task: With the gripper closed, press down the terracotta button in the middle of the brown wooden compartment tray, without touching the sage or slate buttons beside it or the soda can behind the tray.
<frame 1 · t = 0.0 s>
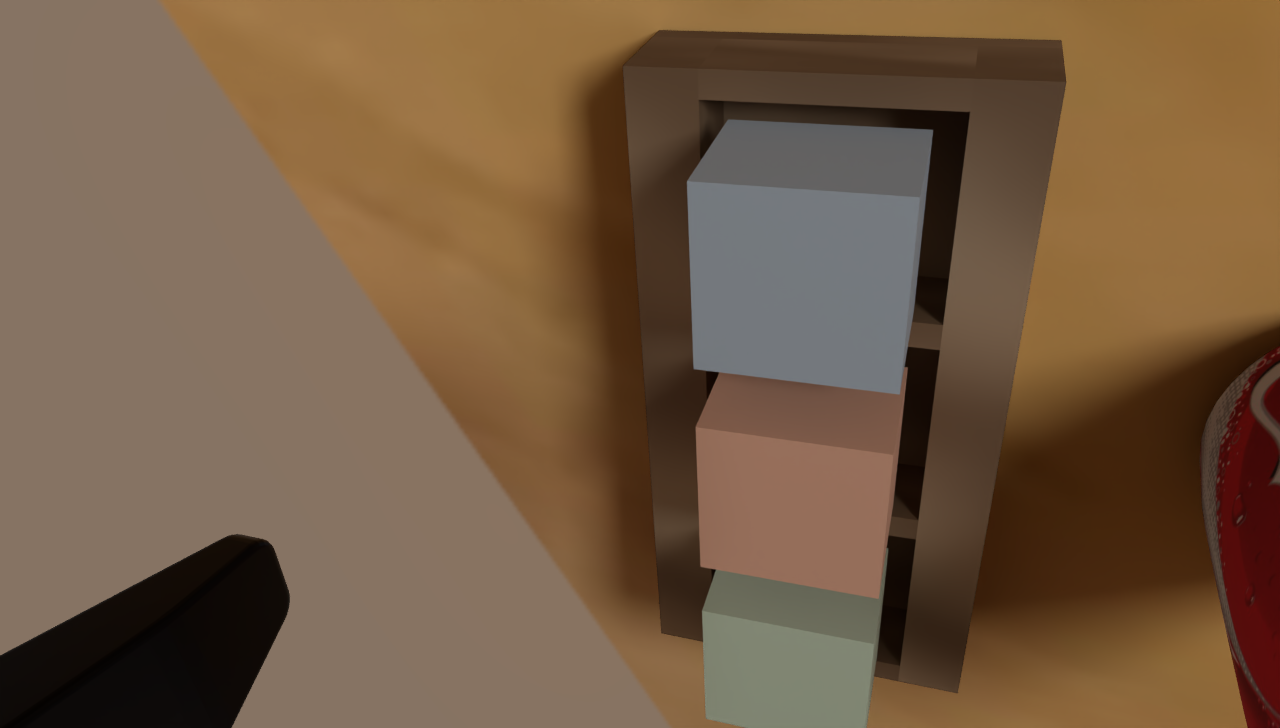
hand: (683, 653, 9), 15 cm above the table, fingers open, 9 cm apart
brown wooden compartment tray: (830, 365, 25), on the table
button terracotta: (802, 468, 21), point 4 cm above the table, slide at 0.0 cm
button sage: (795, 634, 24), point 4 cm above the table, slide at 0.0 cm
button slate: (810, 251, 18), point 4 cm above the table, slide at 0.0 cm
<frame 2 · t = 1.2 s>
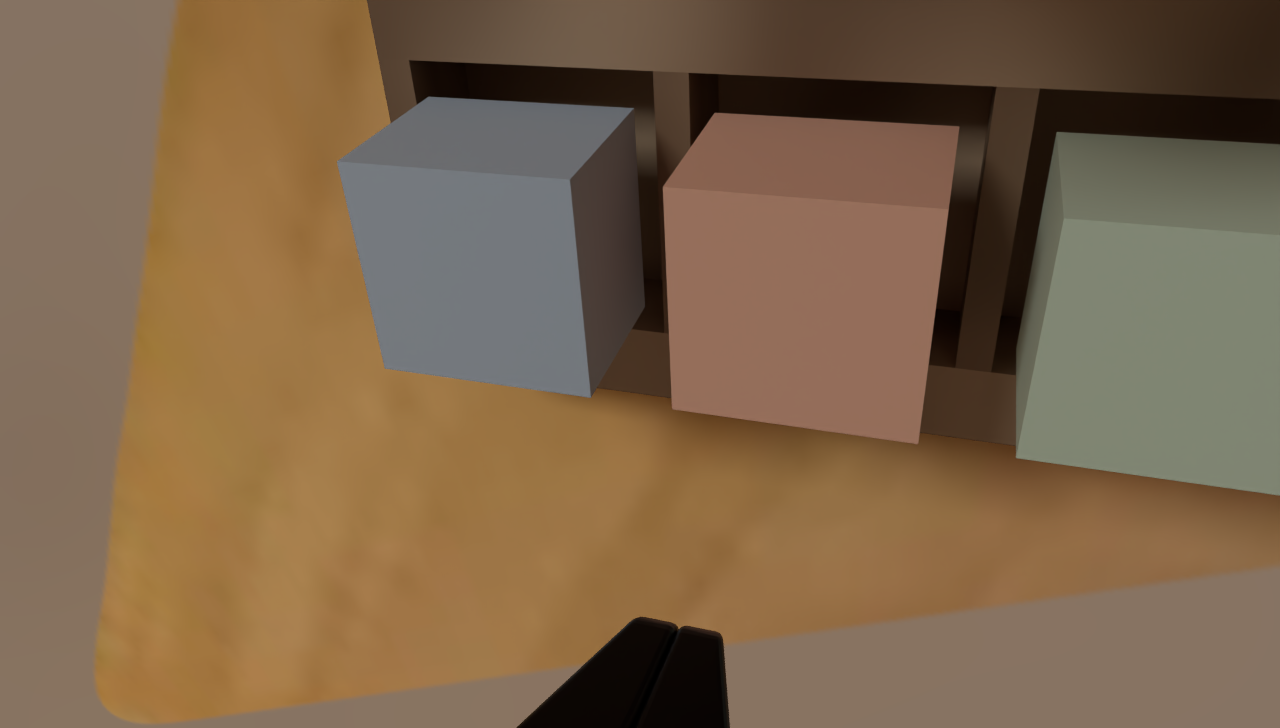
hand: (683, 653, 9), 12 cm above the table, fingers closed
brown wooden compartment tray: (847, 169, 19), on the table
button terracotta: (812, 271, 15), point 4 cm above the table, slide at 0.0 cm
button sage: (1179, 307, 14), point 4 cm above the table, slide at 0.0 cm
button slate: (506, 241, 17), point 4 cm above the table, slide at 0.0 cm
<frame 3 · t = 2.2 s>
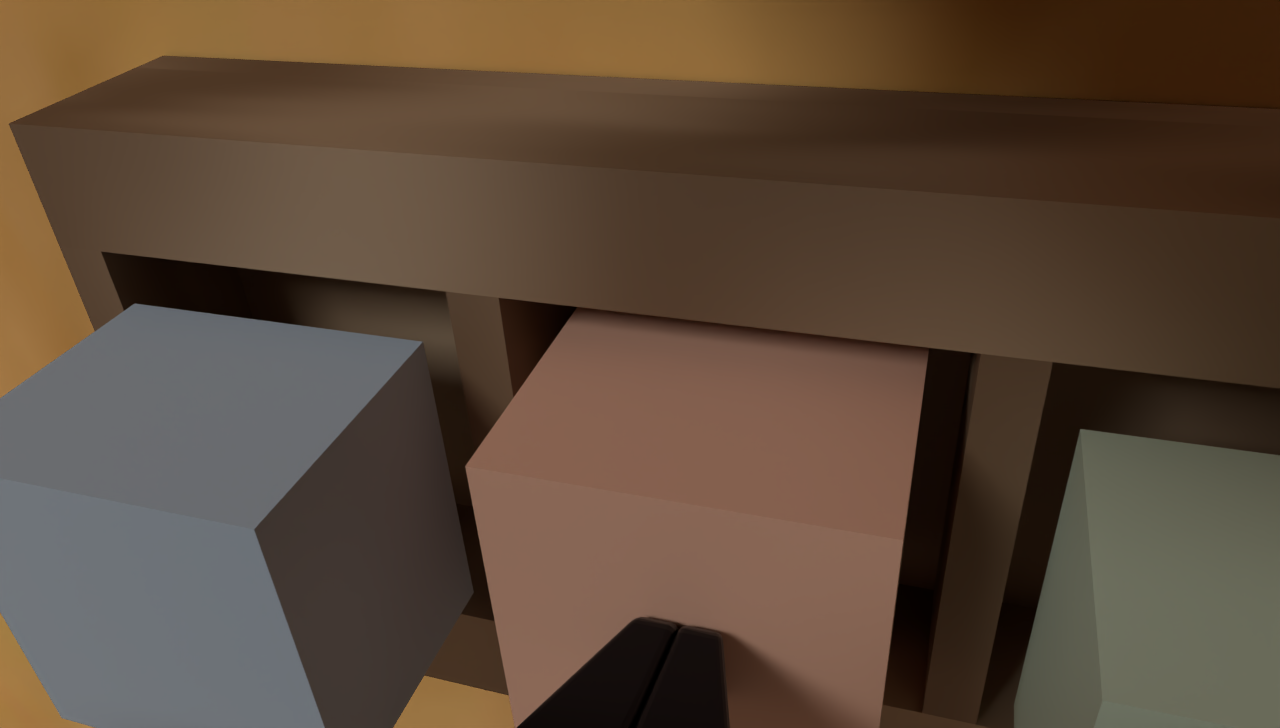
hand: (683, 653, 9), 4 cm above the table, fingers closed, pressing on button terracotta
brown wooden compartment tray: (769, 390, 13), on the table
button terracotta: (715, 544, 11), point 3 cm above the table, slide at -1.2 cm, touching gripper
button slate: (236, 536, 11), point 4 cm above the table, slide at 0.0 cm
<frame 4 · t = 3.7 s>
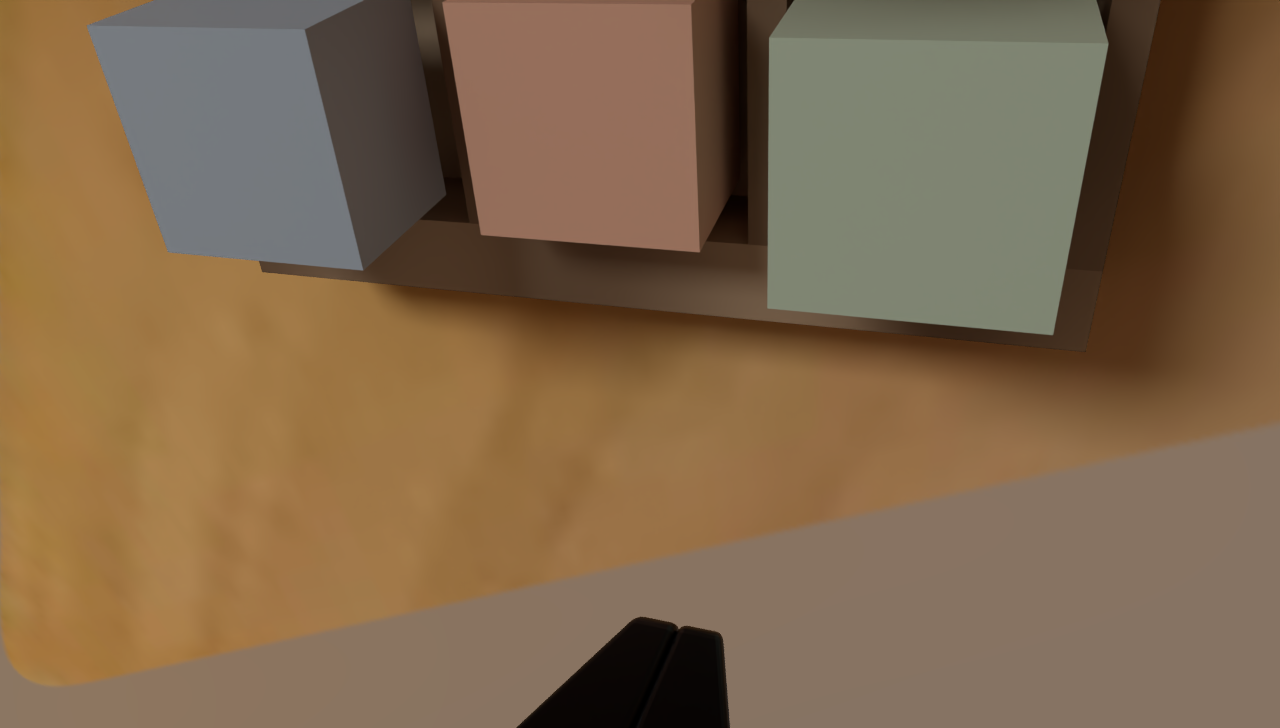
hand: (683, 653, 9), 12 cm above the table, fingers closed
brown wooden compartment tray: (650, 53, 18), on the table
button terracotta: (606, 99, 16), point 3 cm above the table, slide at -1.5 cm
button sage: (924, 148, 14), point 4 cm above the table, slide at 0.0 cm
button slate: (284, 118, 17), point 4 cm above the table, slide at 0.0 cm
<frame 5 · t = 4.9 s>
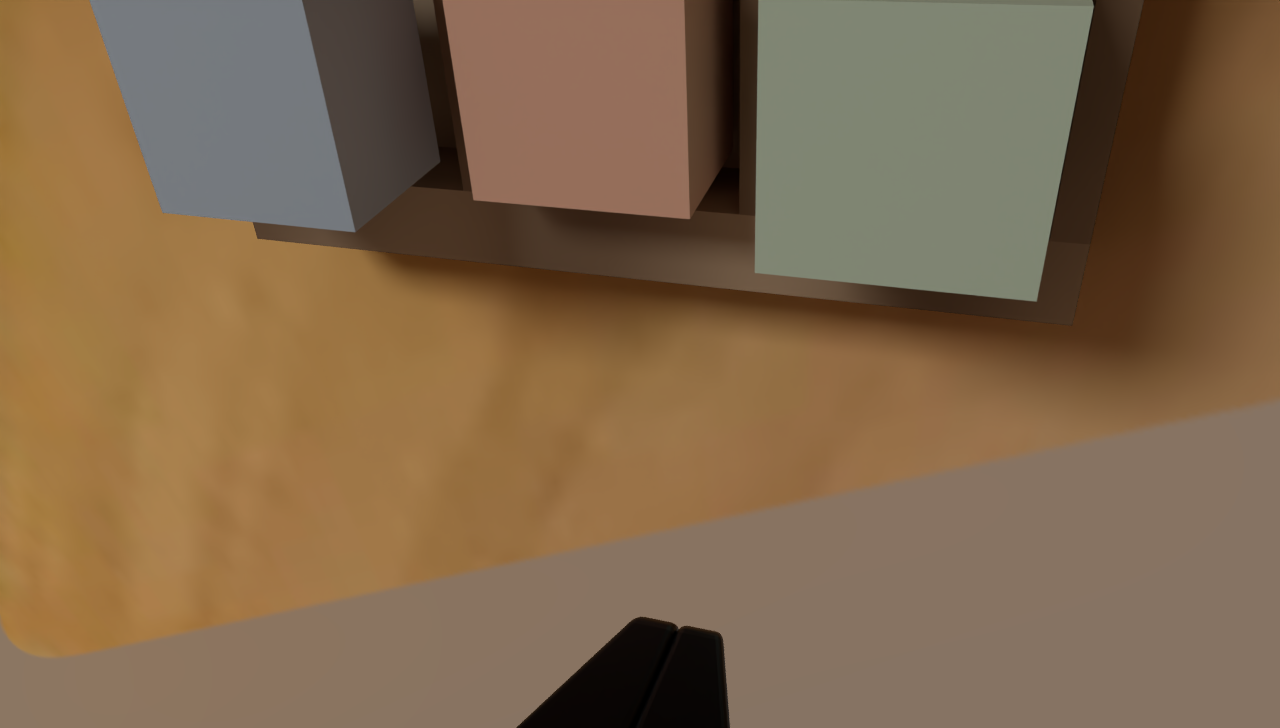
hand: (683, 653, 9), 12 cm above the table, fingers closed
brown wooden compartment tray: (645, 24, 19), on the table
button terracotta: (600, 66, 17), point 3 cm above the table, slide at -1.5 cm
button sage: (913, 115, 14), point 4 cm above the table, slide at 0.0 cm
button slate: (280, 81, 17), point 4 cm above the table, slide at 0.0 cm
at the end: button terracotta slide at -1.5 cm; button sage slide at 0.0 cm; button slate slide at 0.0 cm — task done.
